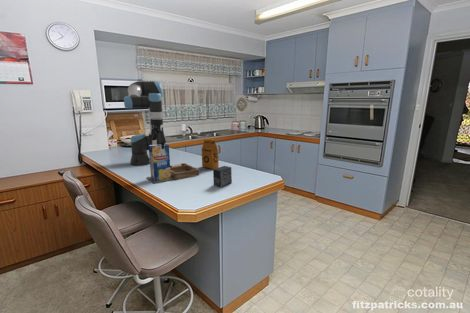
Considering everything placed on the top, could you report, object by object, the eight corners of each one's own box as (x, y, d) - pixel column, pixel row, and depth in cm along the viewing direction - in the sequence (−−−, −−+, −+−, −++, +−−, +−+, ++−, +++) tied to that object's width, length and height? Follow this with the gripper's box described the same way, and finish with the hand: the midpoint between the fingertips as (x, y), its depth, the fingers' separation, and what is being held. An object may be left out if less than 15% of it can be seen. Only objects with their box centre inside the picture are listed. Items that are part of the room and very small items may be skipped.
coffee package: (211, 170, 185) (211, 141, 180) (200, 167, 193) (199, 139, 188) (220, 167, 192) (220, 139, 187) (209, 164, 200) (208, 137, 195)
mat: (146, 178, 167) (146, 177, 167) (166, 174, 175) (166, 173, 175) (153, 183, 156) (153, 182, 156) (175, 179, 164) (175, 178, 164)
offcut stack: (168, 171, 182) (168, 165, 181) (181, 169, 187) (181, 164, 186) (170, 173, 179) (169, 167, 178) (183, 171, 184) (183, 165, 183)
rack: (163, 171, 181) (163, 166, 180) (184, 168, 191) (184, 163, 190) (176, 179, 164) (175, 173, 163) (199, 175, 174) (198, 169, 173)
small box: (224, 181, 162) (224, 165, 159) (232, 183, 158) (232, 167, 155) (212, 185, 154) (212, 168, 151) (220, 187, 150) (220, 170, 147)
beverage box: (150, 178, 165) (148, 145, 160) (166, 175, 171) (164, 143, 166) (154, 181, 159) (152, 147, 154) (171, 177, 166) (169, 145, 161)
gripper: (144, 117, 164) (146, 149, 169) (157, 120, 145) (160, 156, 150) (155, 116, 168) (157, 147, 173) (170, 120, 149) (172, 154, 154)
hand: (158, 151), depth 162 cm, fingers open, 13 cm apart
